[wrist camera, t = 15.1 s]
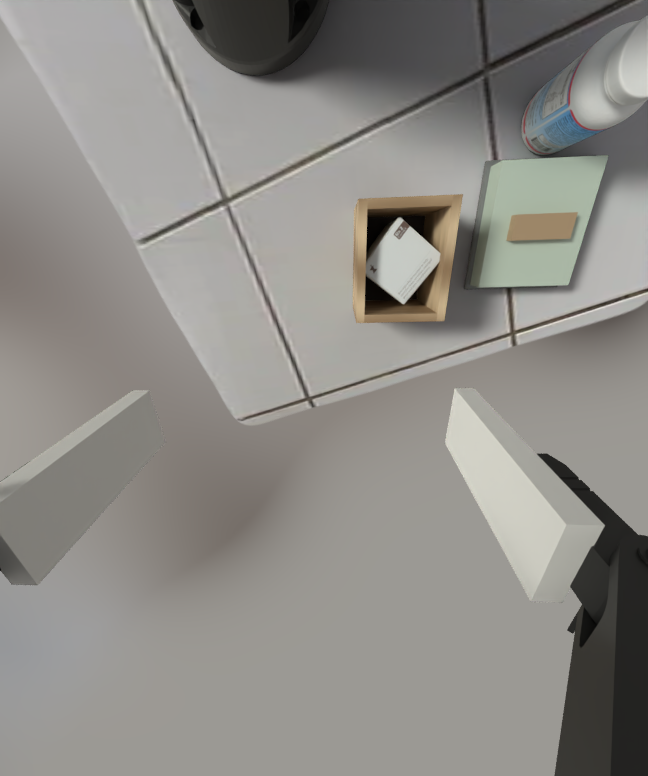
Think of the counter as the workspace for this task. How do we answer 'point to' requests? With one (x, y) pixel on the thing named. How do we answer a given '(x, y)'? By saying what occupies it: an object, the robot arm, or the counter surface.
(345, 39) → the counter surface
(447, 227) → the box
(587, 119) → the pill bottle
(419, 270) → the skincare box
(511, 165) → the lid
